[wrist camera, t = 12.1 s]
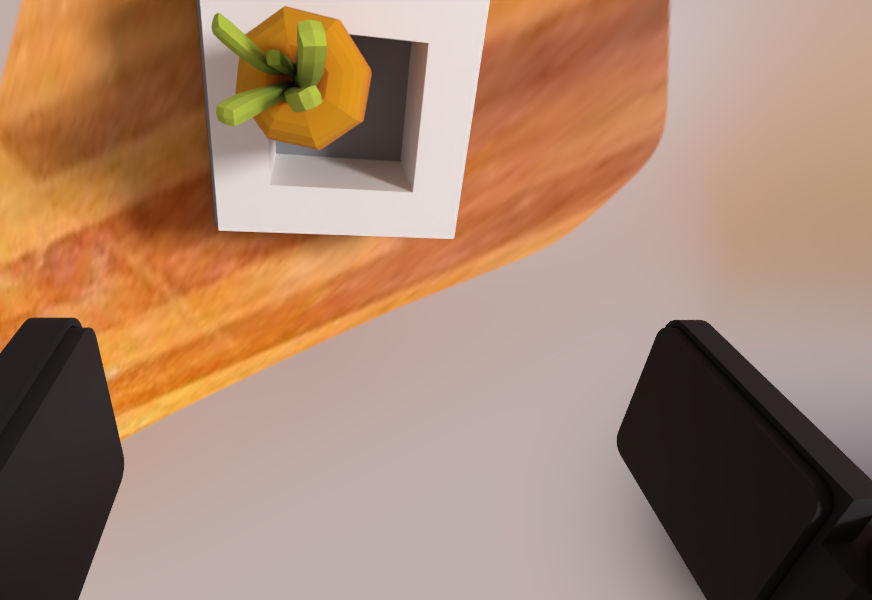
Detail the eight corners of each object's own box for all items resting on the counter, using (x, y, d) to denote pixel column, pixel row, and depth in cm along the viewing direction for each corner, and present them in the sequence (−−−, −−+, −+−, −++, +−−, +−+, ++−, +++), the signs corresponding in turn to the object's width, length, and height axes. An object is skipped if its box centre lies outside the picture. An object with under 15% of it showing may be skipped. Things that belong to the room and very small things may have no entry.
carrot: (299, 148, 31) (213, 175, 16) (275, 50, 29) (157, -12, 15) (388, 131, 31) (380, 144, 16) (369, 33, 29) (342, -46, 15)
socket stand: (192, -108, 26) (160, -123, 20) (485, -62, 29) (523, -65, 23) (218, 217, 34) (200, 265, 29) (445, 226, 37) (466, 271, 32)
